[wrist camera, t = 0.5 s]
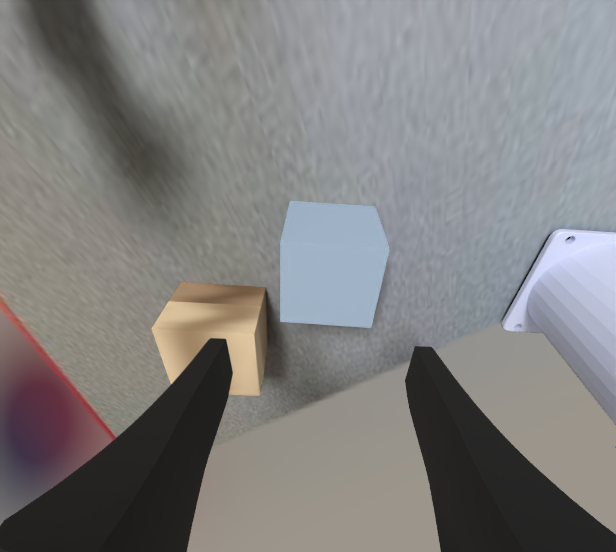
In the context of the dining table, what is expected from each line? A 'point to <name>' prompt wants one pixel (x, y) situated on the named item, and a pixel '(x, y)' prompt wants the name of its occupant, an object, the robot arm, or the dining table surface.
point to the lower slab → (224, 298)
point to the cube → (331, 264)
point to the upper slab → (213, 324)
